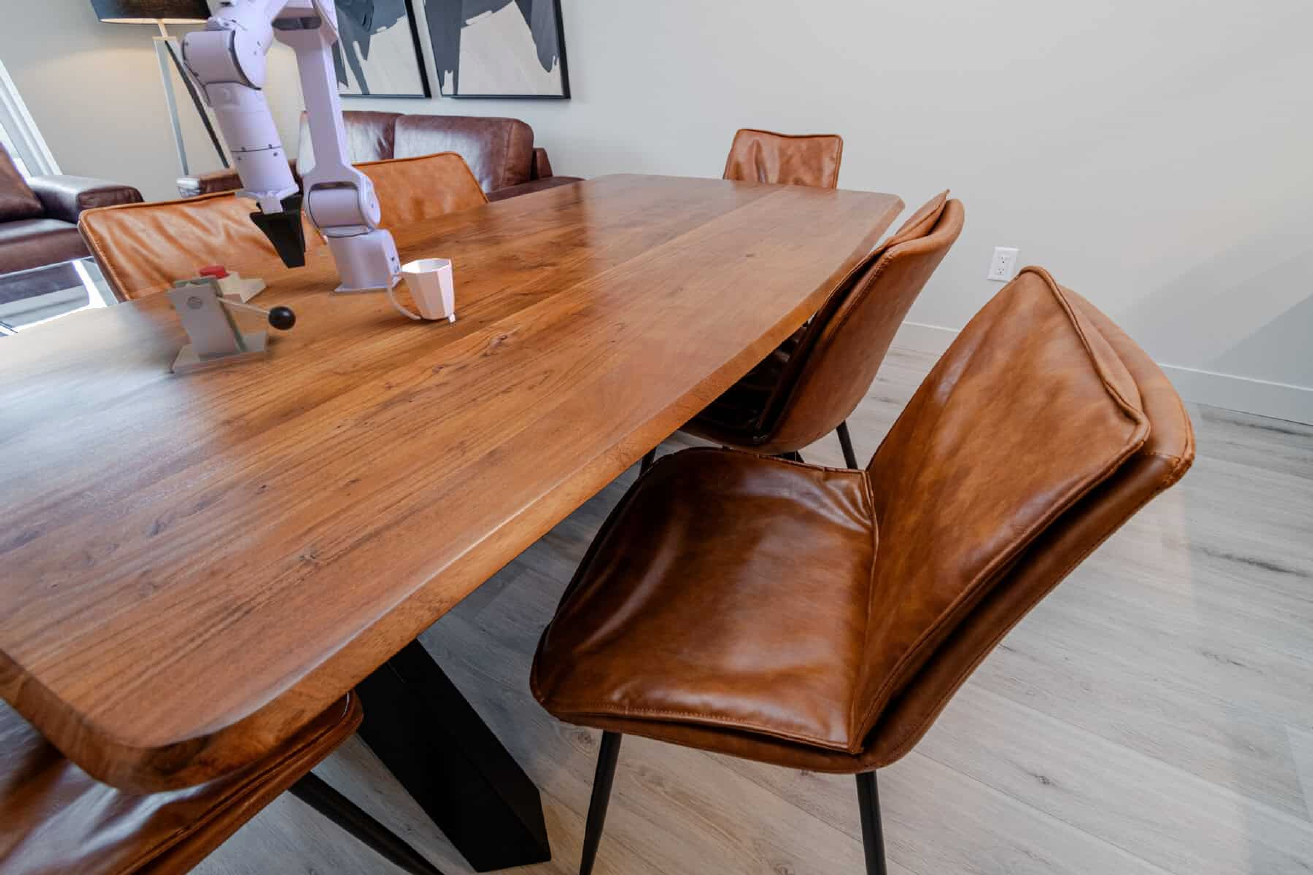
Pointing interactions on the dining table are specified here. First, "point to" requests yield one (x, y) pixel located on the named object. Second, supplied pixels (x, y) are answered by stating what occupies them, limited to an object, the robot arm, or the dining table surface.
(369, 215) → the robot arm
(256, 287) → the control block
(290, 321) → the lever
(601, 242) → the dining table surface
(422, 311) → the cup
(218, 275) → the button
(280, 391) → the dining table surface
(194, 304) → the bracket
